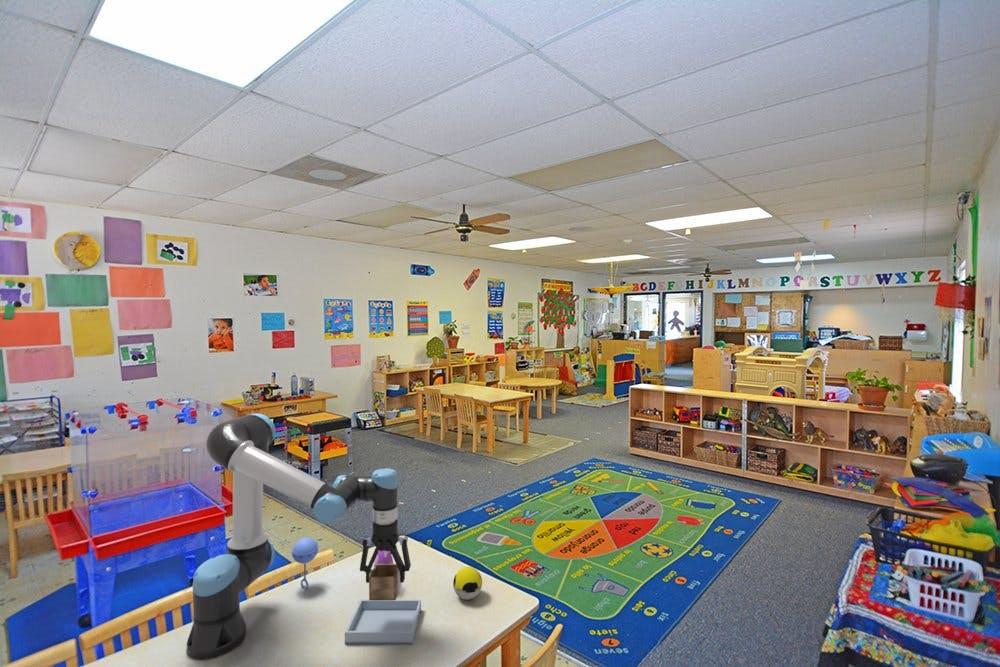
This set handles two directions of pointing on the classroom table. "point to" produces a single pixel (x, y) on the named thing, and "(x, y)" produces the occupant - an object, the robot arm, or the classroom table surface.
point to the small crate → (383, 582)
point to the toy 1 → (383, 558)
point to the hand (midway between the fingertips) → (385, 591)
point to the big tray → (384, 622)
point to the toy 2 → (467, 583)
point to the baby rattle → (305, 554)
